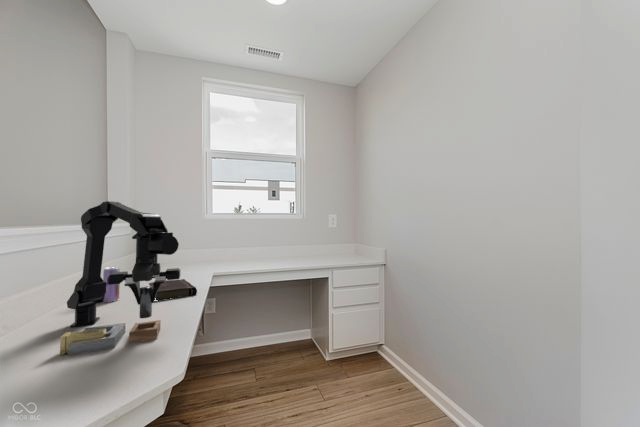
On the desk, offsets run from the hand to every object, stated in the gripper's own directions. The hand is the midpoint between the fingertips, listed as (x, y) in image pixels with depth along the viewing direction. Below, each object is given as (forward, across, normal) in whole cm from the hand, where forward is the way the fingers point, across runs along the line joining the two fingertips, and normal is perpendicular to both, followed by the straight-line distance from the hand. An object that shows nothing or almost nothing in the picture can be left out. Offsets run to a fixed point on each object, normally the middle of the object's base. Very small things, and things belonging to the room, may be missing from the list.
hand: (145, 303), depth 84 cm
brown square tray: (+10, 0, 0) cm, 10 cm away
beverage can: (+10, -21, +52) cm, 57 cm away
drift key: (+10, -14, -4) cm, 17 cm away
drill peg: (+4, 0, 0) cm, 4 cm away
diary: (+11, +2, +56) cm, 57 cm away
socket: (+10, -11, 0) cm, 15 cm away
